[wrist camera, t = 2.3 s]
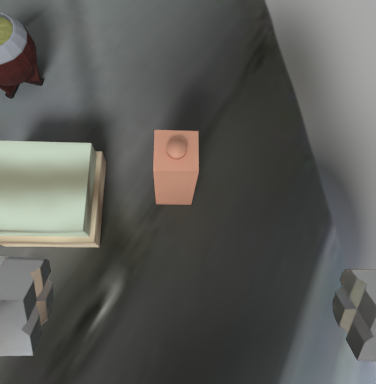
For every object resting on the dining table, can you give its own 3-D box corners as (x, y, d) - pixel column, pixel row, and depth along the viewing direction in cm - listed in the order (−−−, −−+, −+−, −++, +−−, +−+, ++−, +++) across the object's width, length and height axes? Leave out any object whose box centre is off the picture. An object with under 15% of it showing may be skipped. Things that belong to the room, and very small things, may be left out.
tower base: (99, 247, 39) (87, 235, 33) (4, 246, 38) (-24, 234, 32) (106, 162, 42) (96, 138, 36) (19, 160, 41) (-5, 136, 36)
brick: (191, 204, 41) (199, 168, 31) (156, 204, 41) (153, 167, 31) (191, 172, 42) (198, 127, 32) (157, 171, 42) (154, 126, 32)
